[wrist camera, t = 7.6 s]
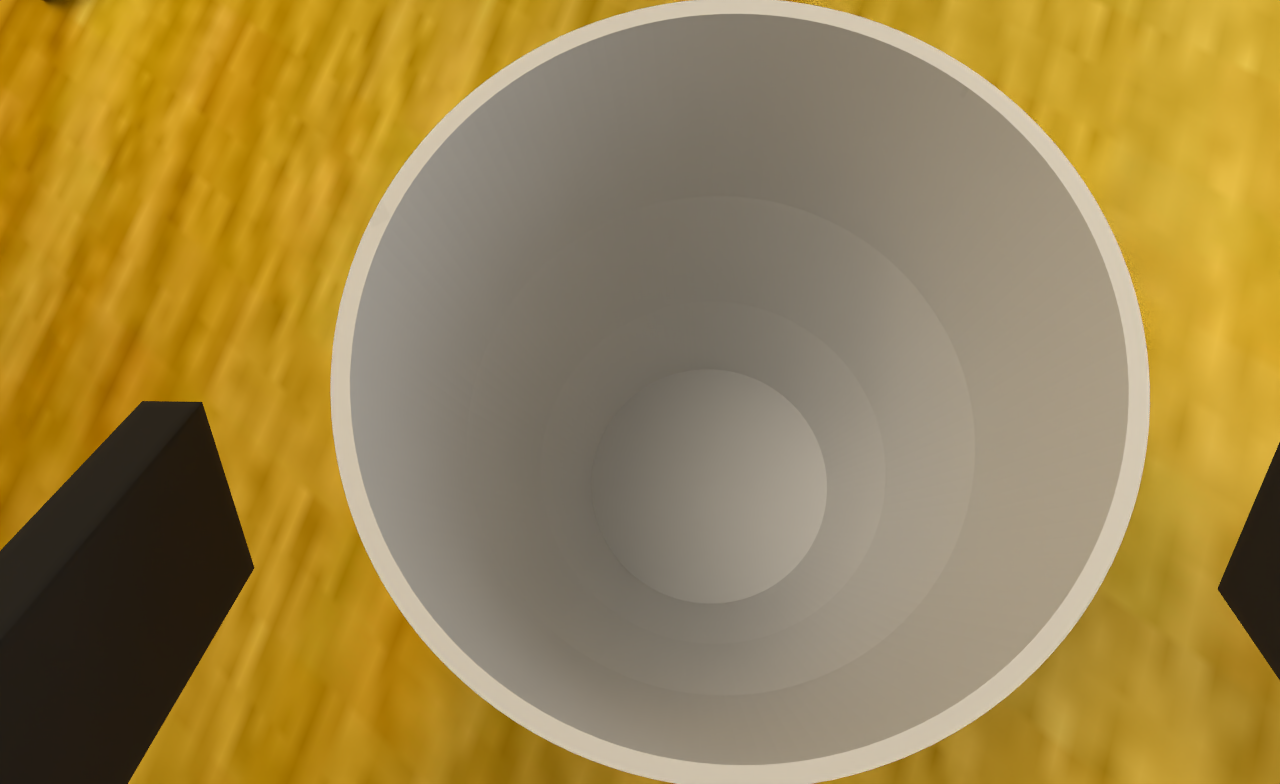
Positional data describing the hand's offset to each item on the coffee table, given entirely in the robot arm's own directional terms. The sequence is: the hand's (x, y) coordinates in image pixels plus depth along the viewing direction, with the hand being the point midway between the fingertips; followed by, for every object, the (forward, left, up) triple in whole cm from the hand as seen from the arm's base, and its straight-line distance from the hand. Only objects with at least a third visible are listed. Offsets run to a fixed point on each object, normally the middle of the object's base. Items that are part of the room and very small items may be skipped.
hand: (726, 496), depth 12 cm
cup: (0, +1, -7) cm, 7 cm away
